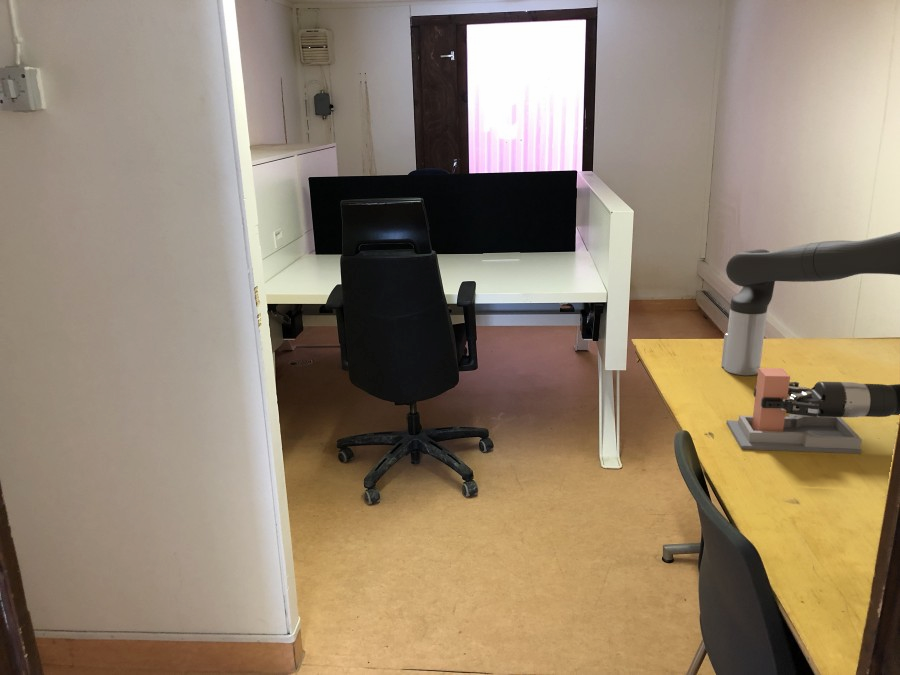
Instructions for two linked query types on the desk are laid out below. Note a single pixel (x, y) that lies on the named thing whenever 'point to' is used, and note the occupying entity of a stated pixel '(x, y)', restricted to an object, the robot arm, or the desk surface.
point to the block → (770, 385)
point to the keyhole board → (798, 435)
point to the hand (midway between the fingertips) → (758, 397)
